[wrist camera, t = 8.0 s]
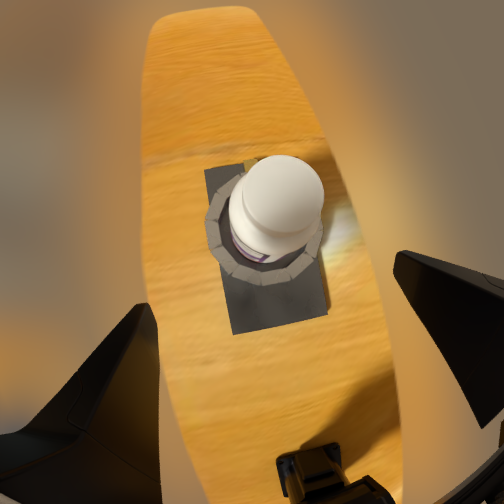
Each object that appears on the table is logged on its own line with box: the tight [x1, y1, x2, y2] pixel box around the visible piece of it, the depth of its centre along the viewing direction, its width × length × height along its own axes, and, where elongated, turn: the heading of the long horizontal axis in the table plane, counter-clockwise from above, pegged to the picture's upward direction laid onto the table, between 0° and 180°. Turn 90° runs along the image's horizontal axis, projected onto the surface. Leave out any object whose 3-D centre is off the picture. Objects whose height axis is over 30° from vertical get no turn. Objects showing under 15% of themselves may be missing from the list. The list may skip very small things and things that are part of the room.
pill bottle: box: [229, 155, 324, 263], centre depth 17 cm, size 5×5×10 cm
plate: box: [204, 161, 328, 335], centre depth 23 cm, size 14×8×1 cm, turn 11°
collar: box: [205, 159, 323, 286], centre depth 22 cm, size 10×9×2 cm
